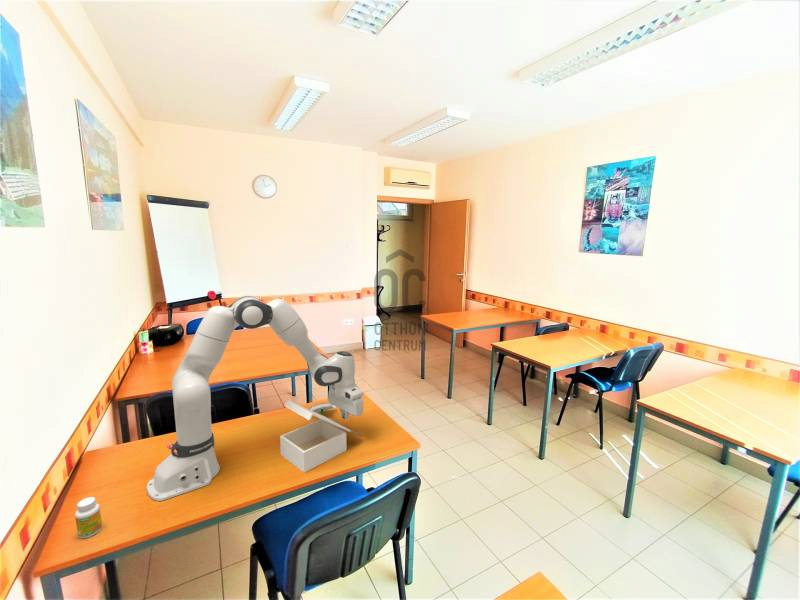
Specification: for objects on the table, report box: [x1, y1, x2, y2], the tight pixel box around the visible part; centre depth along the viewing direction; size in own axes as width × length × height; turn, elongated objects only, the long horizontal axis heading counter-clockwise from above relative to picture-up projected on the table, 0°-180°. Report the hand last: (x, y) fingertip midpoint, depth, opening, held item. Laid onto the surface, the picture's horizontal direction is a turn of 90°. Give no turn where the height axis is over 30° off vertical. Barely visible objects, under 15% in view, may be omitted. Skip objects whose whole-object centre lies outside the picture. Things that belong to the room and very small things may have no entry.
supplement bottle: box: [74, 496, 103, 539], centre depth 104 cm, size 5×5×10 cm
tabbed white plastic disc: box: [308, 402, 337, 416], centre depth 175 cm, size 15×8×11 cm
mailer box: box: [279, 419, 348, 473], centre depth 144 cm, size 20×17×8 cm
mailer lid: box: [284, 399, 362, 437], centre depth 147 cm, size 30×17×3 cm
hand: (345, 418), depth 156 cm, fingers closed
